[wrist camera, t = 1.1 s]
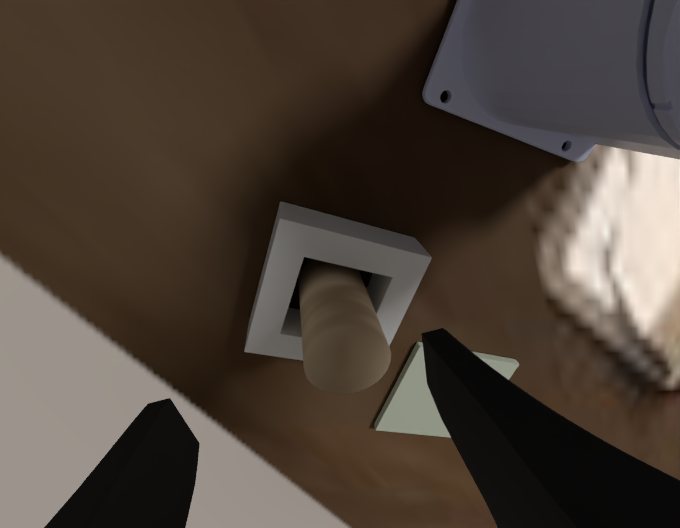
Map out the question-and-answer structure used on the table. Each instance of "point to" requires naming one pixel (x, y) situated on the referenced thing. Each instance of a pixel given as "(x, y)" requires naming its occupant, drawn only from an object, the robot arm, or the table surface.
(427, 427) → the mat
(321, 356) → the plug
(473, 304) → the table surface
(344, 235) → the gray square frame
